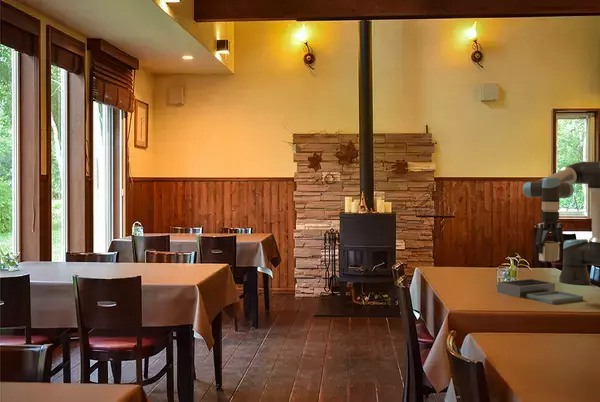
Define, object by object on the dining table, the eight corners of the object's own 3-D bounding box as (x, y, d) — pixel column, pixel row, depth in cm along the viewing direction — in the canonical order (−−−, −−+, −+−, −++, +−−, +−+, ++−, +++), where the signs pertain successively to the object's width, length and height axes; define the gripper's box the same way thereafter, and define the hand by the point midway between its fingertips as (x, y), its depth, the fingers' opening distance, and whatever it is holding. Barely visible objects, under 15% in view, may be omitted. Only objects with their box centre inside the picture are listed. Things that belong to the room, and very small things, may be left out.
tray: (556, 294, 271) (557, 290, 271) (582, 300, 259) (583, 296, 259) (526, 298, 262) (526, 293, 262) (551, 304, 250) (551, 299, 250)
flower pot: (562, 262, 257) (562, 243, 257) (539, 261, 259) (540, 242, 259) (557, 259, 266) (558, 241, 266) (536, 259, 268) (536, 240, 268)
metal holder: (531, 288, 287) (531, 278, 287) (554, 293, 274) (555, 283, 274) (497, 292, 277) (497, 281, 276) (519, 297, 264) (520, 286, 264)
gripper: (560, 210, 270) (558, 258, 271) (526, 210, 261) (525, 260, 262) (573, 211, 263) (572, 260, 264) (539, 211, 254) (538, 262, 255)
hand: (549, 260), depth 263 cm, fingers closed on flower pot, 8 cm apart
